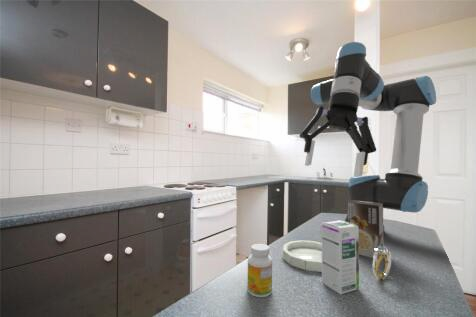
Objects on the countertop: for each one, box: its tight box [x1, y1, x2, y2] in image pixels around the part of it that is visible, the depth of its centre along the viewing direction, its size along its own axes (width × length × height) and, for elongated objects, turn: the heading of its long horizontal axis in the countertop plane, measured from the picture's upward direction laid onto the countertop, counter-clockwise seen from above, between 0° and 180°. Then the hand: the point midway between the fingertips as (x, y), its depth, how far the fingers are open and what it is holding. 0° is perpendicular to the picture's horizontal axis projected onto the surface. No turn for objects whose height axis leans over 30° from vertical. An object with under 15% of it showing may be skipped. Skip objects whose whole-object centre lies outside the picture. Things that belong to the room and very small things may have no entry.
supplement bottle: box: [247, 243, 273, 298], centre depth 50 cm, size 5×5×10 cm
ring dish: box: [282, 239, 322, 273], centre depth 67 cm, size 16×16×2 cm
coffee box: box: [347, 200, 384, 260], centre depth 72 cm, size 9×6×16 cm
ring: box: [372, 245, 392, 280], centre depth 56 cm, size 7×3×8 cm, turn 119°
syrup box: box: [321, 220, 360, 296], centre depth 53 cm, size 6×6×14 cm
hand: (332, 170), depth 60 cm, fingers open, 13 cm apart
